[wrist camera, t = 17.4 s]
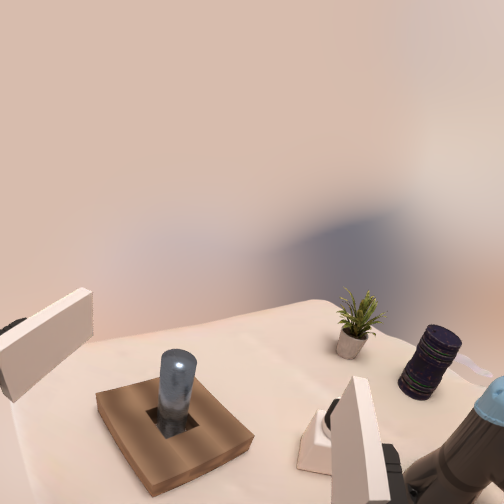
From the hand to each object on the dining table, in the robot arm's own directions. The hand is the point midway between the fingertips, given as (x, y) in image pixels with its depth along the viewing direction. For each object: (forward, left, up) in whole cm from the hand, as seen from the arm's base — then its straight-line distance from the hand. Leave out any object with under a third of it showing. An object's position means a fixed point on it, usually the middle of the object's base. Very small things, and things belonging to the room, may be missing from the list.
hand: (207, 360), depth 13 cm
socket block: (-8, -13, -28) cm, 32 cm away
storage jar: (-58, +9, -28) cm, 65 cm away
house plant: (-56, -12, -28) cm, 64 cm away
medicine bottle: (-24, +3, -28) cm, 37 cm away
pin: (-8, -13, -28) cm, 32 cm away
